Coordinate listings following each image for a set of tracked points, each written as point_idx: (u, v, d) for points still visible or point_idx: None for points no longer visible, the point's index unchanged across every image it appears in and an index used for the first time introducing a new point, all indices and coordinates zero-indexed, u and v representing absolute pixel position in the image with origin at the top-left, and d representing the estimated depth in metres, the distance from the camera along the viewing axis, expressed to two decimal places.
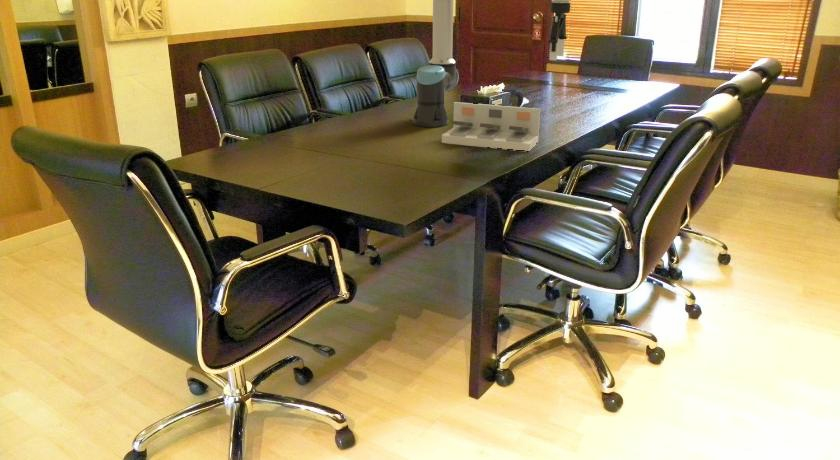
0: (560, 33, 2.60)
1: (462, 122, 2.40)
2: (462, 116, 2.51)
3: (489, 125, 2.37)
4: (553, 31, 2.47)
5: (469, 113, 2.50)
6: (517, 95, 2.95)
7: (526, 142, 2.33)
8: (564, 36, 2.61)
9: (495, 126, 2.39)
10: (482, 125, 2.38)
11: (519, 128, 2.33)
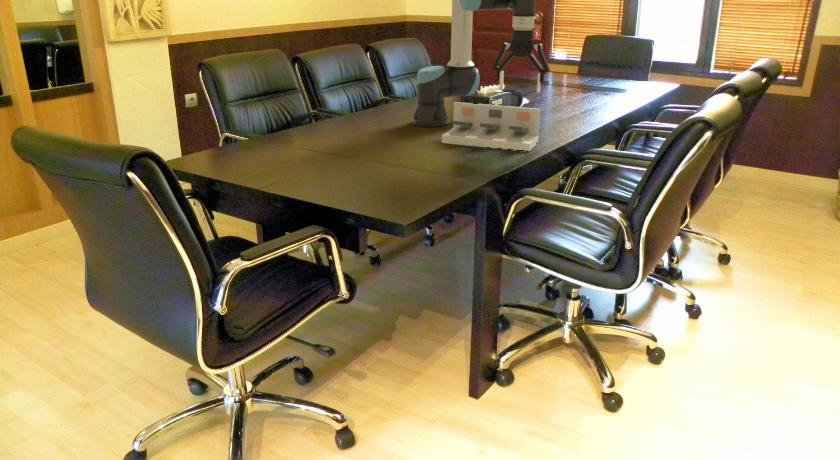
0: None
1: (462, 122, 2.40)
2: (462, 116, 2.51)
3: (489, 125, 2.37)
4: None
5: (469, 113, 2.50)
6: (517, 95, 2.95)
7: (526, 142, 2.33)
8: (540, 70, 2.23)
9: (495, 126, 2.39)
10: (482, 125, 2.38)
11: (519, 128, 2.33)
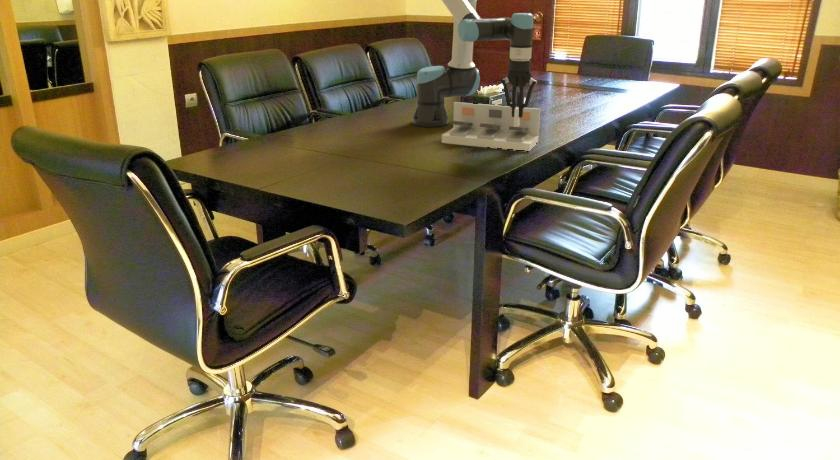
0: None
1: (462, 122, 2.40)
2: (462, 116, 2.51)
3: (489, 125, 2.37)
4: None
5: (469, 113, 2.50)
6: None
7: (526, 142, 2.33)
8: (520, 105, 2.29)
9: (495, 126, 2.39)
10: (482, 125, 2.38)
11: (519, 128, 2.33)
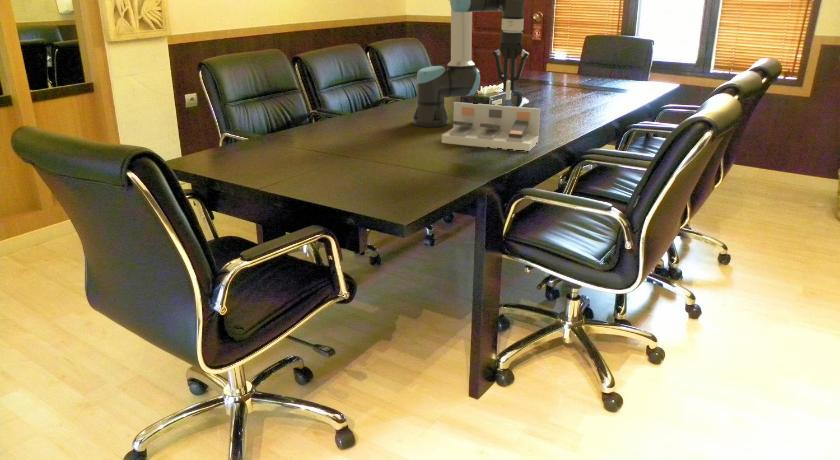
0: None
1: (462, 122, 2.40)
2: (462, 116, 2.51)
3: (489, 125, 2.37)
4: None
5: (469, 113, 2.50)
6: (516, 94, 2.96)
7: (526, 142, 2.33)
8: (512, 78, 2.28)
9: (495, 126, 2.39)
10: (482, 125, 2.38)
11: (519, 136, 2.34)
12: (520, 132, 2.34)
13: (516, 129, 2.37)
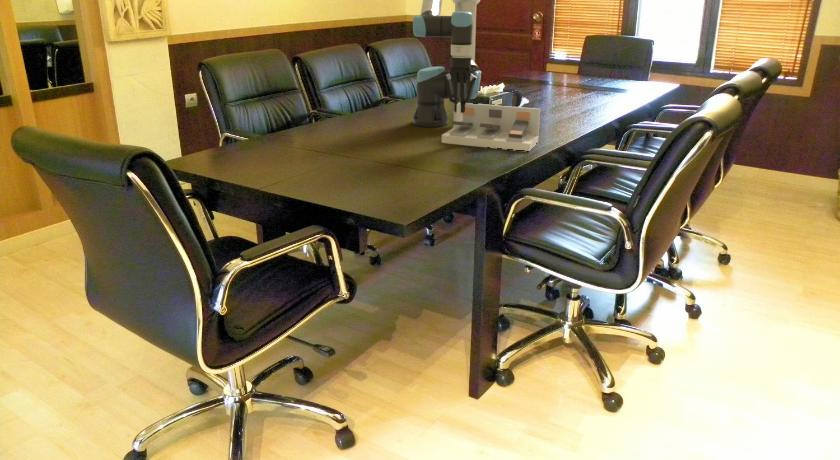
0: None
1: (462, 122, 2.40)
2: None
3: (489, 125, 2.37)
4: None
5: (469, 113, 2.50)
6: (516, 94, 2.96)
7: (526, 142, 2.33)
8: (462, 100, 2.37)
9: (495, 126, 2.39)
10: (482, 125, 2.38)
11: (519, 136, 2.34)
12: (520, 132, 2.34)
13: (516, 129, 2.37)
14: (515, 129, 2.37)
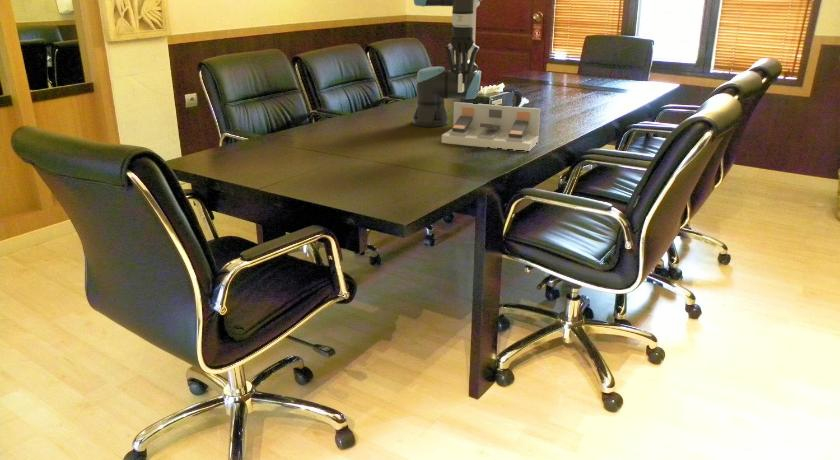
0: None
1: (462, 129, 2.41)
2: None
3: (489, 125, 2.37)
4: None
5: (469, 113, 2.50)
6: (515, 94, 2.96)
7: (526, 142, 2.33)
8: (463, 71, 2.35)
9: (495, 126, 2.39)
10: (482, 125, 2.38)
11: (519, 136, 2.34)
12: (520, 132, 2.34)
13: (516, 129, 2.37)
14: (515, 129, 2.37)
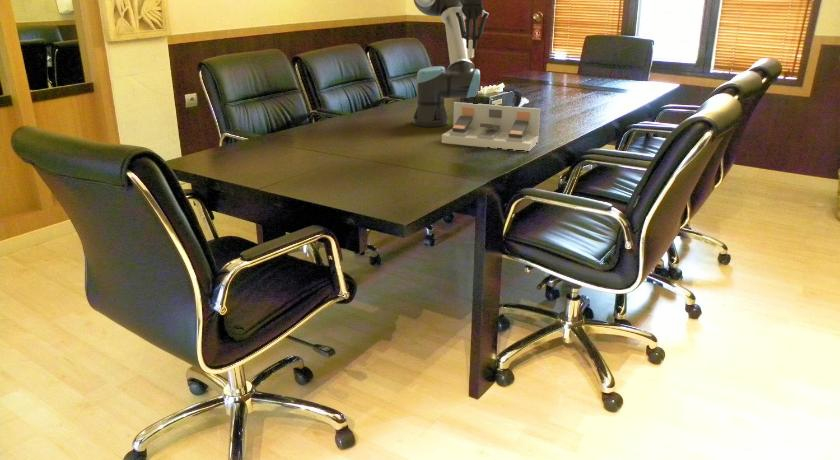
0: None
1: (462, 129, 2.41)
2: None
3: (489, 125, 2.37)
4: None
5: (469, 113, 2.50)
6: (515, 94, 2.97)
7: (526, 142, 2.33)
8: (473, 37, 2.45)
9: (495, 126, 2.39)
10: (482, 125, 2.38)
11: (519, 136, 2.34)
12: (520, 132, 2.34)
13: (516, 129, 2.37)
14: (515, 129, 2.37)
